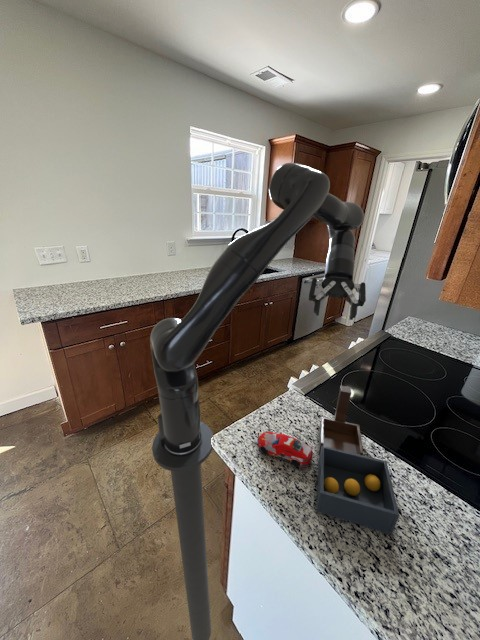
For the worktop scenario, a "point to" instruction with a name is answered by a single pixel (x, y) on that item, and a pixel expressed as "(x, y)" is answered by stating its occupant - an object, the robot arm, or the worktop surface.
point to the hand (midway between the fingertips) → (334, 316)
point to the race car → (285, 448)
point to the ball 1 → (331, 485)
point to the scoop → (341, 428)
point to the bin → (367, 505)
